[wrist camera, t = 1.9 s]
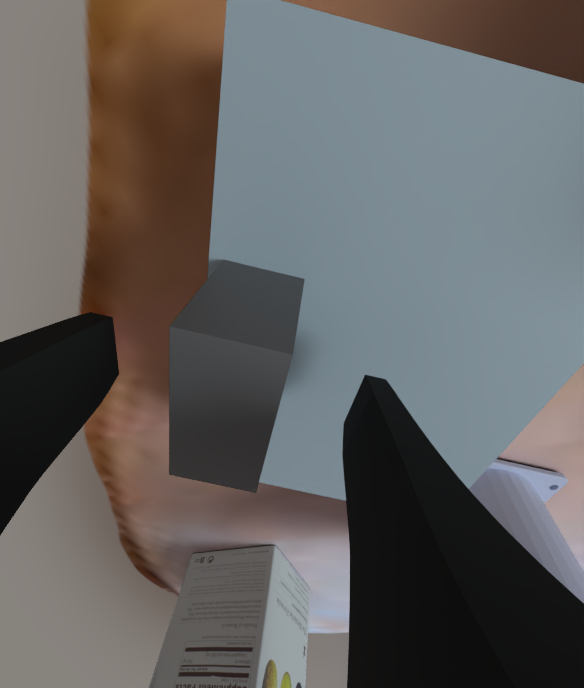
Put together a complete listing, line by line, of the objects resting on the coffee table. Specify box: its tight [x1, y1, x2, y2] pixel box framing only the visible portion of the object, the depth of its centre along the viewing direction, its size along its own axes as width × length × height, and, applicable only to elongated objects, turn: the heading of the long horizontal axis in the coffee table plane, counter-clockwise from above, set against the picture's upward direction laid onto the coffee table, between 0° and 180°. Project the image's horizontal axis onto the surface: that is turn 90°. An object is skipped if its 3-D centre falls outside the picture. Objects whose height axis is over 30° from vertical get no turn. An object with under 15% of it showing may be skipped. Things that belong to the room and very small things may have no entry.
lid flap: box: [169, 0, 584, 501], centre depth 10 cm, size 16×12×5 cm
